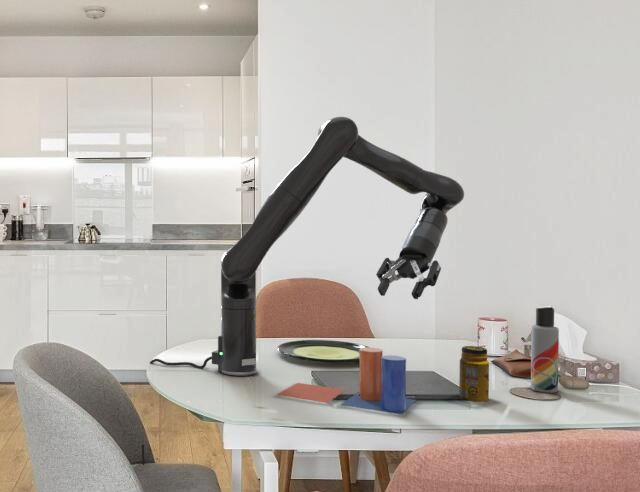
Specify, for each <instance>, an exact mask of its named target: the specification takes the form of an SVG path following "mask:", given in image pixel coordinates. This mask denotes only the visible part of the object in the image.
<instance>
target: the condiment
mask: <svg viewBox="0 0 640 492" xmlns="http://www.w3.org/2000/svg"><path fill="white" fill-rule="evenodd" d="M460 354H461V355H460V356H461V357H460V358H459V387H458V389H459V390H458V395H459V394H460V395H461V396H460V395H459V398H460V399H461V400H465V401H468V402H473V403H474V402H476V403H482V402H483V403H484V402H487V401H488V400H489V398H490V393H489V392H490V383H489V382H490V361H489V360H488V349H487V348H485V347H483V346H476V345H466V346H465V345H464V346H462V347H461V353H460Z"/></svg>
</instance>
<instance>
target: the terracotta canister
mask: <svg viewBox="0 0 640 492" xmlns="http://www.w3.org/2000/svg"><path fill="white" fill-rule="evenodd" d="M382 356H384V350H383V349H381V348H378V347H371V348H370V346H368V347H366V348H360V355H359V361H358V363H359V367H358V368H359V373H358V374H359V379H358V380H359V381H358V383H359V385H358V387H359V390H358V392H359V394H360V396H359V397H360V398H361V399H363V400H368V401H380V400H381V357H382Z"/></svg>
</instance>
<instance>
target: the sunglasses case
mask: <svg viewBox="0 0 640 492" xmlns="http://www.w3.org/2000/svg"><path fill="white" fill-rule="evenodd" d="M490 362H491V363H492V364H494V365H495V366H497V367H499V368H500V369H502V370H503V371H504V372H505V373H507V374H508V375H510V376H512V377H517V378H523V379H531V356H529V355H527V354H524V353H522V352H521V351H519V350H518V349H514V350H512V351H511V352H510V353H508V354H504V355H502V356H499V357H497V358H493V359H492V360H490Z"/></svg>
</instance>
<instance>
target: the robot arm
mask: <svg viewBox="0 0 640 492" xmlns="http://www.w3.org/2000/svg"><path fill="white" fill-rule="evenodd" d="M343 158H344V159H345V158H346V159H347V160H350V161H352V162H354V163H356V164H359V165H360V166H362V167H364V168H366V169H368V170H370V171H371V172H373V173H374V174H376V175H377V176H379V177H381V178H382V179H384V180H386V181H387V182H389V183H391V184H393V185H394V186H395V187H398V188H399V189H401V190H403V191H404V192H406V193H408V194H410V195H417V194H420V193H425V194H424V197H423V198H422V200H421V204H420V208H419V214H418V216H417V218H416V221H414V224H413V226H412V227H411V229H410V231H409V232H408V234H407V236H406V239H405V240H404V242H403V245H402V246H401V249H400V250H399V255H398V257H397V258H396V259H395V260H392V259H390V258H389V257H385V258H384V260H383V261H382V263H381V264H380V267H379V268H378V270H377V272H376V274H375V275H376V277H377V279H378V280H379V284H378V286H377V291H378V293H379V295H380V296H382V297H384V296H386V294H387V292H388V289H389V287H390V284H391V283H393V282H395V281H399V280H400V279H412V280H415V279H416V278H417V280H418V281H416V282H415V285H414V287H413V288H412V291H411V296H412V298H413V300H418V299H419V298H420V297H422V295H423V293H424V290H425V288H427V287H428V286H429V287H435V286H436V285H437V281H438V279H439V276H440V273H441V271H442V267H441V265H440V263H439V261H438V260H436V259H435V260H433V259H434V257H435V255H436V252H437V250H438V248H439V246H440V243H441V240H442V237H443V234H444V232H445V230H446V227H447V225H448V220H449V219H448V216H447V214H448V212H449V211H451V210H452V209H453V208H455V207H457V205H459V204H461V203H462V201H463V200H464V197H465V190H464V188H463V187H462V185H461V184H460V183H459V182H458V181H457V180H455V179H453V178H451V177H449V176H446V175H443V174H440V173H436V172H432V171H428V170H425V169H423V168H422V167H420V166H419V165H417V164H415V163H414V162H412V161H411V160H408V159H406V158H405V157H402V156H400V155H398V154H396V153H393V152H391V151H389V150H386V149H384V148H381V147H379V146H378V145H375V143H374V144H373V143H372V142H370V141H368V140H367V139H365V138H364V137H363V136H361V135H360V134H359V128H358V126H357V124H356V122H355V121H354V120H353V119H351V118H350V117H347V116H335V117H332V118H330V119H327V120H326V121H325V122H323V123H322V124H321V125H320V127H319V128H318V131H317V138H316V140H315V142H314V143H313V145H312V146H311V148H310V149H309V151H308V152H307V154H306V155H305V156H304V157H303V158H302V159H301V160H300V161H299V162H298V163H297V164H296V165H295V166H294V167H293V168H291V170H289V171H288V172H287V173H286V175H285V176H283V178H282V179H281V180H280V181H279V182H278V183H277V185H275V187H274V189H273V190H272V191H271V193H270V194H269V195H268V196H267V198H266V199H265V201H264V202H263V204H262V206H261V207H260V209H259V211H258V212H257V214H256V216H255V218H254V220H253V222H252V224H251V226H250V227H249V228H248V229H247V231H246V232H245V233H244V234H243V235H242V236H241V237H240V239H238V240H237V242H236V243H235V244H234V245H233V246H232V247H230V248H228V249H226V251H225V252H224V253H223V255H222V257H221V260H220V335H218V336H217V349H216V350H213V351H212V352H211V356H209V357H207V358H206V359H205V360H204V361H203V364H202V365H199V364H196V363H193V362H190V361H189V362H188V361H180V362H167V361H165V360H162V359H159V358H153V359H154V360H153V359H152V360H151V361H150V362H149V364H154V363H155V362H158V363H160V364H162V365H165V366H171V367H173V366H191V367H194V368H195V369H200V370H201V369H204V368H206V366H207V364H208V362H209V361H211V364H212V365H217V373H221V374H224V375H228V376H234V377H246V376H252V375H255V374H257V270H258V268H259V266H260V265H261V263H262V262H263V259H264V258H265V256H266V255H267V254H268V252H269V250H271V248H272V247H273V245H274V244H275V243H276V242H277V241H278V240H279V239H280V237H282V236H283V235H284V233H286V232H287V230H289V228H290V227H291V226H292V225H293V224H294V222H295V221H296V220H297V219H298V218H299V216H300V215H301V213H302V212H303V211H304V210H305V209H306V207H307V206H308V205H309V203H310V202H311V200H312V199H313V197H314V196H315V195H316V193H317V192H318V190H319V189H320V187H321V186H322V184H323V183H324V181H325V179H326V178H327V176H328V175H329V174H330V172H331V171H333V169H334V167H335V166H336V165H337V164H338V163H339V162H340V161H342V159H343ZM427 271H428V273H427V276H426V277H424V275H423V274H424V273H426V272H427ZM396 272H397V274H396ZM145 461H146V460H145V444H141V465H142V464H143V465H144V464H145V463H146V462H145ZM145 465H146V464H145Z"/></svg>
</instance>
